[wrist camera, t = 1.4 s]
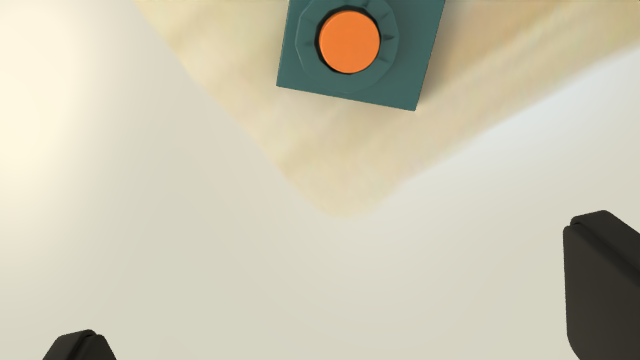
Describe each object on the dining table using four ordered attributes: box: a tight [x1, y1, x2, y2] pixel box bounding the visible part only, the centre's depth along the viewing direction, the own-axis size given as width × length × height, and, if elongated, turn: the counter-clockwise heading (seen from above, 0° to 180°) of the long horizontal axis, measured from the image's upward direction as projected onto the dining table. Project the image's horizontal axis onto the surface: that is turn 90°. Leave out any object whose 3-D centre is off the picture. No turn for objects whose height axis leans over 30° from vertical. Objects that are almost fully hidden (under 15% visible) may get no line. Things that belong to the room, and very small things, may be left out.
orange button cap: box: [319, 10, 380, 73], centre depth 29 cm, size 4×4×2 cm
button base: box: [276, 0, 445, 111], centre depth 31 cm, size 12×10×4 cm
